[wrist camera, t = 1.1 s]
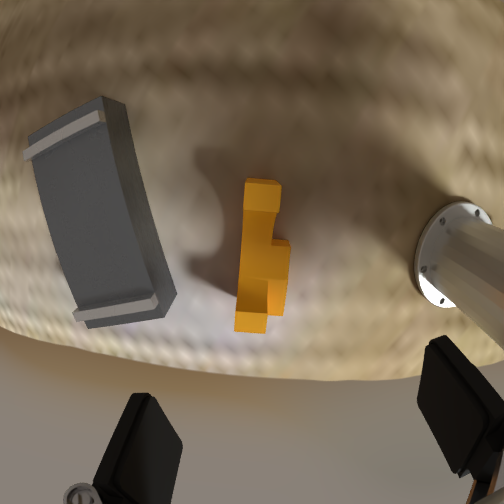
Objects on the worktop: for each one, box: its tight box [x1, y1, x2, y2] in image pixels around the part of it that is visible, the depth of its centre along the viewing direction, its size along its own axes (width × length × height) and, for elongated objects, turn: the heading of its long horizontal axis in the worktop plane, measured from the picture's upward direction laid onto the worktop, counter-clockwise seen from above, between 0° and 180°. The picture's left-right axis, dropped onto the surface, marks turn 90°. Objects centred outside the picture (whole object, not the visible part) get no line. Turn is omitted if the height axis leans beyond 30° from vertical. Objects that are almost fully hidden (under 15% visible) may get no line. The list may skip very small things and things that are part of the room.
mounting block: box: [22, 96, 177, 329], centre depth 25 cm, size 9×20×6 cm, turn 13°
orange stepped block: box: [234, 178, 291, 334], centre depth 25 cm, size 12×4×6 cm, turn 175°
